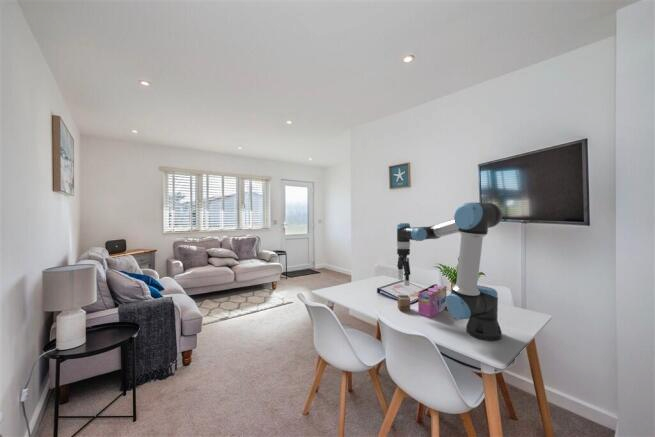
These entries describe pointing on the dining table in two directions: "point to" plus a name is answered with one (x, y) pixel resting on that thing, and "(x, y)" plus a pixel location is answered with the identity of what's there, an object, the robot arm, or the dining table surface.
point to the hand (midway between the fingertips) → (403, 282)
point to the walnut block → (403, 303)
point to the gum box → (431, 300)
